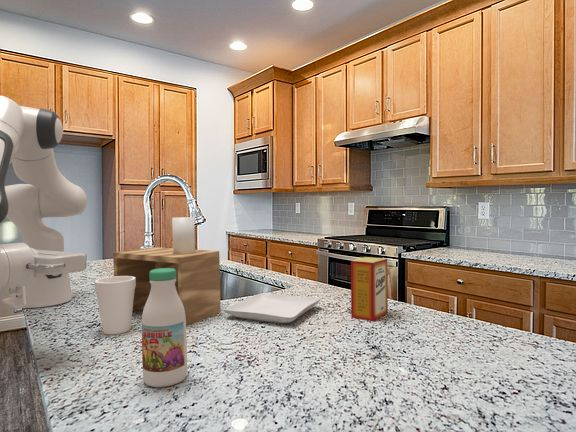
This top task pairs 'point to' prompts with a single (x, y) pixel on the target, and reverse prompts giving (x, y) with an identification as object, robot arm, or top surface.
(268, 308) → the salad plate
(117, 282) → the foam cup
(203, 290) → the cubby
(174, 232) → the white pillar candle
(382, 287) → the baking soda box
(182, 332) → the milk bottle
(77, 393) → the top surface
